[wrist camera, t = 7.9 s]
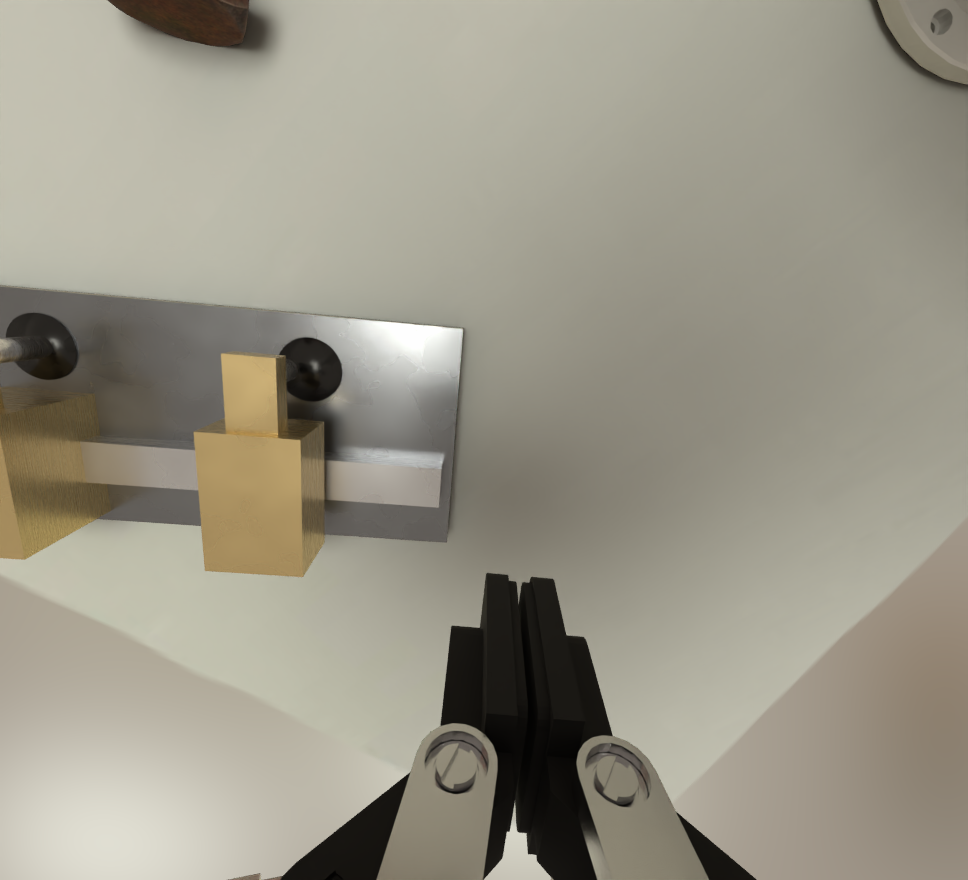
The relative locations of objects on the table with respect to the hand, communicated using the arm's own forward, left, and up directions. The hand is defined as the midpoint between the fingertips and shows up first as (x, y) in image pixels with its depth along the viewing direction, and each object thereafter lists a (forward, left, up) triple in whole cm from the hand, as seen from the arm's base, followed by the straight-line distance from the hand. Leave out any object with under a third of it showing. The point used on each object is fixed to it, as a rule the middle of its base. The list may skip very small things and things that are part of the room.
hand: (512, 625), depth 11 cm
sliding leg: (+10, 0, -12) cm, 15 cm away
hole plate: (+13, -1, -13) cm, 19 cm away
